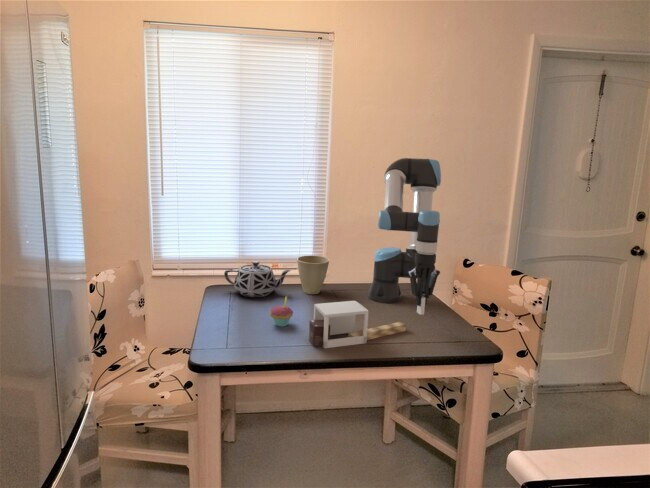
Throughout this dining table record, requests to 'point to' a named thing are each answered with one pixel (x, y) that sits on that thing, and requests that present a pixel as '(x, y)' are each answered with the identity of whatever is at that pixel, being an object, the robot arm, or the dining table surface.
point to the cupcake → (281, 314)
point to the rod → (381, 330)
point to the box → (317, 332)
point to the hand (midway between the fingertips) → (420, 313)
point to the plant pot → (312, 272)
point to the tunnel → (341, 322)
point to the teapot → (255, 280)
